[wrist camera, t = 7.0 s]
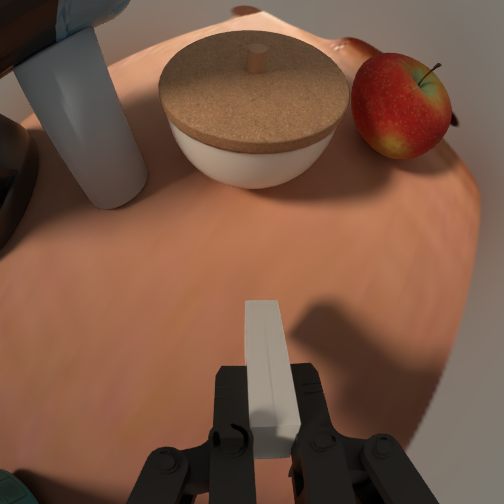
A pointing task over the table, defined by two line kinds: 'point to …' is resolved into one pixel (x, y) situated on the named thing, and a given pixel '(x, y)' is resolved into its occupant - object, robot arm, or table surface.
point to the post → (84, 118)
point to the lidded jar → (253, 106)
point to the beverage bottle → (14, 490)
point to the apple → (399, 105)
